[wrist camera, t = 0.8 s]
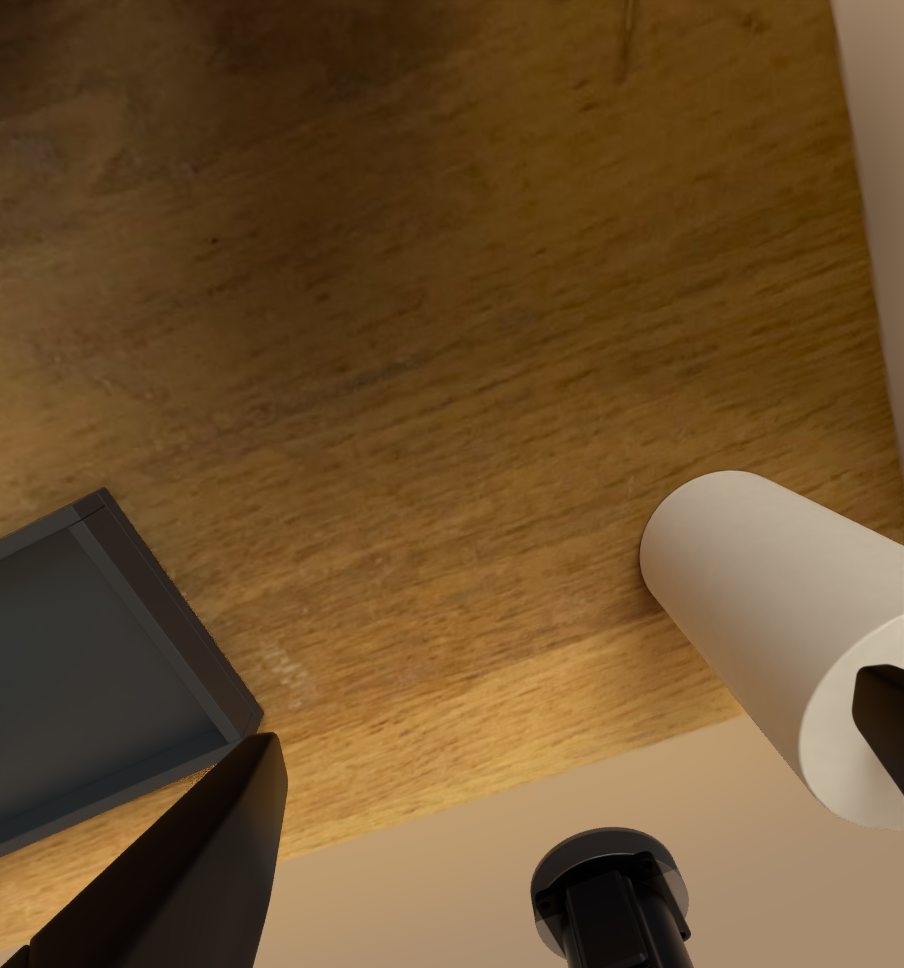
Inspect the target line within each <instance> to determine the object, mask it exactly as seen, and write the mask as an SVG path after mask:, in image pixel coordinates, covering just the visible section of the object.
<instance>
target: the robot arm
mask: <svg viewBox="0 0 904 968" xmlns="http://www.w3.org/2000/svg"><path fill="white" fill-rule="evenodd" d="M852 717H853V720H854V723H855V725H856V727H857V729H858V730H859V732H860V733H861V735H862V736H863V738H864V739H865V740H866V742H867V743H868V745H869V746H870V748H871V749H872V751H873V752H874V754H875V755H876V756H877V758H878V759H879V761H880V762H881V764H882V765H883V767H884V768H885V769H886V771H887V772H888V774H889V775H890V777H891V778H892V780H893V781H894V782H895V784H896V785H897V787H898V788H899V790H900V791H901V793H902V794H903V796H904V669H902V668H899V667H897V666H894V665H890V664H879V665H870V666H864V667H862V668H860V669H859V670H858V672H857V674H856V680H855V687H854V695H853V702H852ZM287 790H288V777H287V771H286V767H285V762H284V758H283V754H282V749H281V745H280V741H279V738H278V736H277V734H275V733H273V732H268V733H259V734H252V735H249V736H247V737H246V738H244V739H243V740H242V741H241V742H240V743H239V744H238V745H237V746H236V747H235V748H234V749H233V750H232V751H231V752H230V753H228V754H227V755H226V756H225V757H224V758H223V759H222V760H221V761H220V762H219V763H218V764H217V765H216V766H215V767H214V768H213V769H211V770H210V771H209V772H208V773H207V774H206V775H205V776H204V777H203V778H202V779H201V780H200V781H199V782H198V783H197V784H195V785H194V786H193V787H192V788H191V789H190V790H189V791H188V792H187V793H186V794H185V795H184V796H183V797H182V798H181V799H179V800H178V801H177V802H176V803H175V804H174V805H173V806H172V807H171V808H170V809H169V810H168V811H167V812H166V813H165V814H164V815H162V816H161V817H160V818H159V819H158V820H157V821H156V822H155V823H154V824H153V825H152V826H151V827H150V828H149V829H148V830H146V831H145V832H144V833H143V834H142V835H141V836H140V837H139V838H138V839H137V840H136V841H135V842H134V843H133V844H132V845H130V846H129V847H128V848H127V849H126V850H125V851H124V852H123V853H122V854H121V855H120V856H119V857H118V858H117V859H116V860H115V861H113V862H112V863H111V864H110V865H109V866H108V867H107V868H106V869H105V870H104V871H103V872H102V873H101V874H100V875H99V876H97V877H96V878H95V879H94V880H93V881H92V882H91V883H90V884H89V885H88V886H87V887H86V888H85V889H84V890H83V891H81V892H80V893H79V894H78V895H77V896H76V897H75V898H74V899H73V900H72V901H71V902H70V903H69V904H68V905H67V906H66V907H64V908H63V909H62V910H61V911H60V912H59V913H58V914H57V915H56V916H55V917H54V918H53V919H52V920H51V921H50V922H48V923H47V924H46V925H45V926H44V927H43V928H42V929H41V930H40V931H39V932H38V933H37V934H36V935H35V936H34V937H33V938H32V939H31V941H30V946H29V945H24V946H23V947H22V948H20V949H19V950H18V951H17V952H16V953H15V954H14V955H13V956H12V957H11V958H10V959H9V960H8V961H7V962H6V963H5V964H3V965H2V966H1V967H0V968H253V964H254V960H255V957H256V953H257V949H258V946H259V942H260V938H261V934H262V930H263V926H264V923H265V919H266V914H267V910H268V906H269V901H270V896H271V891H272V885H273V879H274V873H275V867H276V861H277V854H278V848H279V842H280V835H281V829H282V823H283V816H284V810H285V804H286V797H287ZM534 899H535V905H536V909H537V910H538V912H539V914H540V915H541V917H542V919H543V920H544V922H545V924H546V925H547V927H548V929H549V930H550V932H551V934H552V935H553V937H554V939H555V940H556V942H557V944H558V945H559V947H560V949H561V950H562V952H563V954H564V955H565V957H566V959H567V963H568V968H694V967H693V964H692V962H691V959H690V957H689V955H688V952H687V950H686V947H685V945H684V941H686V940H688V939H689V938H690V936H691V932H690V930H689V927H688V925H687V923H686V921H685V919H684V917H683V915H682V913H681V911H680V909H679V906H678V904H677V902H676V900H675V898H674V896H673V894H672V892H671V890H670V888H669V886H668V884H667V882H666V880H665V878H664V876H663V874H662V871H661V869H660V867H659V865H658V863H657V861H656V859H655V857H654V855H653V854H652V853H651V852H649V851H642V852H639V853H637V854H634V855H631V856H629V857H626V858H624V859H621V860H619V861H616V862H613V863H611V864H608V865H606V866H603V867H601V868H598V869H595V870H593V871H590V872H588V873H585V874H583V875H580V876H577V877H575V878H572V879H570V880H567V881H564V882H562V883H559V884H557V885H554V886H552V887H549V888H546V889H544V890H541V891H539V892H537V893H536V895H535V897H534Z"/></svg>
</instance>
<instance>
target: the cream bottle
mask: <svg viewBox="0 0 904 968" xmlns="http://www.w3.org/2000/svg"><path fill="white" fill-rule="evenodd" d="M640 566H641V572H642V575H643V578H644V581H645V583H646V585H647V587H648V589H649V590H650V592H651V593H652V595H653V596H654V597H655V598H656V600H657V601H658V602H659V603H660V605H661V606H662V607H663V608H664V610H665V611H666V612H667V613H668V615H669V616H670V617H671V618H672V620H673V621H674V622H675V623H676V625H677V626H678V627H679V628H680V630H681V631H682V632H683V633H684V635H685V636H686V637H687V638H688V640H689V641H690V642H691V643H692V645H693V646H694V647H695V648H696V650H697V651H698V652H699V653H700V655H701V656H702V657H703V658H704V660H705V661H706V662H707V663H708V665H709V666H710V667H711V668H712V670H713V671H714V672H715V673H716V675H717V676H718V677H719V678H720V680H721V681H722V682H723V683H724V685H725V686H726V687H727V688H728V690H729V691H730V692H731V693H732V695H733V696H734V697H735V698H736V700H737V701H738V702H739V703H740V705H741V706H742V707H743V708H744V710H745V711H746V712H747V713H748V715H749V716H750V717H751V718H752V720H753V721H754V722H755V723H756V725H757V726H758V727H759V728H760V730H761V731H762V732H763V733H764V735H765V736H766V737H767V738H768V739H769V741H770V742H771V743H772V745H773V746H774V747H775V748H776V750H777V751H778V752H779V753H780V755H781V756H782V757H783V758H784V760H785V761H786V762H787V763H788V765H789V766H790V767H791V768H792V770H793V771H794V772H795V773H796V775H797V776H798V777H799V778H800V780H801V781H802V782H803V783H804V784H805V786H806V787H807V788H808V790H809V791H810V792H811V793H812V795H813V796H814V797H815V798H816V799H817V800H818V801H819V802H820V803H821V804H822V805H823V806H824V807H826V808H827V809H828V810H830V811H831V812H832V813H834V814H835V815H837V816H839V817H841V818H843V819H845V820H847V821H849V822H852V823H855V824H858V825H861V826H864V827H869V828H874V829H880V830H893V831H894V830H904V796H903V794H902V793H901V791H900V790H899V788H898V787H897V785H896V784H895V782H894V781H893V780H892V778H891V777H890V775H889V774H888V772H887V771H886V769H885V768H884V767H883V765H882V764H881V762H880V761H879V759H878V758H877V756H876V755H875V754H874V752H873V751H872V749H871V748H870V746H869V745H868V743H867V742H866V740H865V739H864V738H863V736H862V735H861V733H860V732H859V730H858V729H857V727H856V725H855V723H854V720H853V717H852V702H853V695H854V687H855V680H856V674H857V672H858V670H859V669H860V668H862V667H864V666H870V665H879V664H890V665H894V666H897V667H899V668H902V669H904V546H903V545H901V544H898V543H896V542H894V541H892V540H890V539H888V538H886V537H884V536H882V535H880V534H878V533H876V532H874V531H872V530H870V529H868V528H866V527H864V526H862V525H860V524H858V523H856V522H854V521H852V520H850V519H847V518H845V517H843V516H841V515H839V514H837V513H835V512H833V511H831V510H829V509H827V508H825V507H823V506H821V505H819V504H817V503H815V502H813V501H811V500H809V499H807V498H805V497H803V496H801V495H799V494H797V493H794V492H792V491H790V490H788V489H786V488H784V487H782V486H780V485H778V484H776V483H774V482H772V481H770V480H768V479H766V478H764V477H761V476H759V475H756V474H753V473H749V472H743V471H721V472H714V473H710V474H706V475H703V476H700V477H698V478H695V479H693V480H691V481H689V482H687V483H685V484H684V485H682V486H681V487H679V488H678V489H676V490H675V491H674V492H672V493H671V494H670V495H669V496H668V497H667V498H666V499H665V500H664V501H663V502H662V503H661V504H660V505H659V506H658V508H657V509H656V510H655V512H654V513H653V515H652V516H651V518H650V520H649V522H648V524H647V526H646V528H645V531H644V533H643V537H642V541H641V547H640Z"/></svg>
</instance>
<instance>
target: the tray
mask: <svg viewBox="0 0 904 968" xmlns="http://www.w3.org/2000/svg"><path fill="white" fill-rule="evenodd" d="M263 715H264V712H263V710H262V709H261V707H260V706H259V705H258V703H257V702H256V700H255V699H254V698H253V696H252V695H251V693H250V692H249V690H248V689H247V688H246V686H245V685H244V683H243V682H242V681H241V679H240V678H239V676H238V675H237V673H236V672H235V671H234V669H233V668H232V666H231V665H230V664H229V662H228V661H227V659H226V658H225V656H224V655H223V654H222V652H221V651H220V649H219V648H218V647H217V645H216V644H215V642H214V641H213V639H212V638H211V637H210V635H209V634H208V632H207V631H206V630H205V628H204V627H203V625H202V624H201V623H200V621H199V620H198V618H197V617H196V615H195V614H194V613H193V611H192V610H191V608H190V607H189V606H188V604H187V603H186V601H185V600H184V598H183V597H182V596H181V594H180V593H179V591H178V590H177V589H176V587H175V586H174V584H173V583H172V581H171V580H170V579H169V577H168V576H167V574H166V573H165V572H164V570H163V569H162V567H161V566H160V564H159V563H158V562H157V560H156V559H155V557H154V556H153V555H152V553H151V552H150V550H149V549H148V547H147V546H146V545H145V543H144V542H143V540H142V539H141V538H140V536H139V535H138V533H137V532H136V530H135V529H134V528H133V526H132V525H131V523H130V522H129V521H128V519H127V518H126V516H125V515H124V513H123V512H122V511H121V509H120V508H119V506H118V505H117V504H116V502H115V501H114V499H113V498H112V496H111V495H110V494H109V492H108V491H107V489H106V488H101V489H99V490H97V491H95V492H93V493H91V494H89V495H87V496H85V497H83V498H81V499H79V500H77V501H75V502H73V503H71V504H69V505H67V506H65V507H63V508H61V509H59V510H57V511H54V512H52V513H50V514H48V515H46V516H44V517H42V518H40V519H38V520H36V521H34V522H32V523H30V524H28V525H26V526H24V527H22V528H20V529H18V530H16V531H14V532H12V533H10V534H8V535H6V536H4V537H2V538H0V857H2V856H5V855H7V854H9V853H12V852H14V851H16V850H18V849H21V848H23V847H25V846H28V845H30V844H32V843H35V842H37V841H39V840H42V839H44V838H46V837H48V836H51V835H53V834H55V833H58V832H60V831H62V830H65V829H67V828H69V827H71V826H74V825H76V824H78V823H81V822H83V821H85V820H88V819H90V818H92V817H94V816H97V815H99V814H101V813H104V812H106V811H108V810H111V809H113V808H115V807H117V806H120V805H122V804H124V803H127V802H129V801H131V800H134V799H136V798H138V797H140V796H143V795H145V794H147V793H150V792H152V791H154V790H157V789H159V788H161V787H163V786H166V785H168V784H170V783H173V782H175V781H177V780H180V779H182V778H184V777H186V776H189V775H191V774H193V773H196V772H198V771H200V770H203V769H205V768H207V767H209V766H212V765H214V764H216V763H219V762H220V761H221V760H222V759H223V758H224V757H225V756H226V755H227V754H228V753H230V752H231V751H232V750H233V749H234V748H235V747H236V746H237V745H238V744H239V743H240V742H241V741H242V740H243V739H244V738H246V737H247V736H249V735H252V734H256V732H257V729H258V727H259V724H260V721H261V719H262V717H263Z"/></svg>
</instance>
